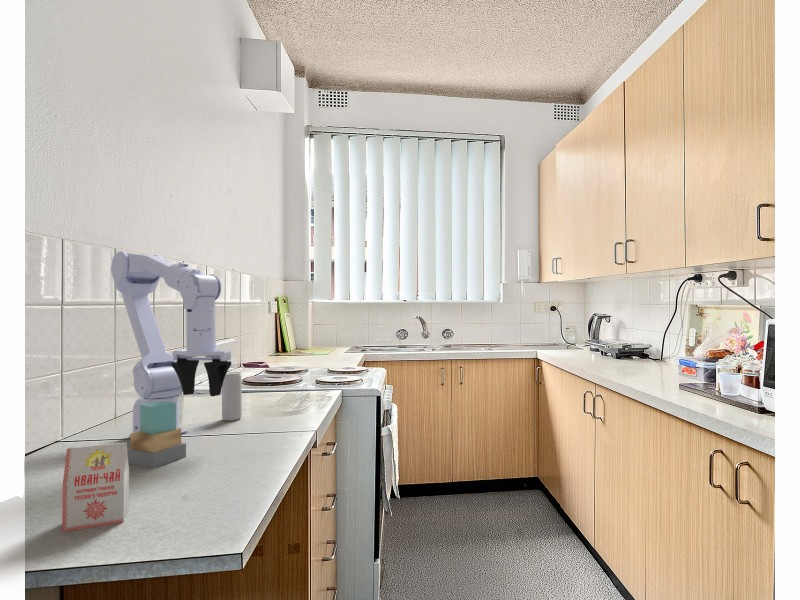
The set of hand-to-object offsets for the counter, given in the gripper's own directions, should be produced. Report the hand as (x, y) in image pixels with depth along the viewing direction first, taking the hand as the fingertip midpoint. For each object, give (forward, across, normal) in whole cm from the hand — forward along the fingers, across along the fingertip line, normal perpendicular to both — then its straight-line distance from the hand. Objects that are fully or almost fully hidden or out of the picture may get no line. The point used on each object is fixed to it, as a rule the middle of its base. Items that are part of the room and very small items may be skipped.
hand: (201, 394), depth 97 cm
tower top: (+8, 0, +11) cm, 14 cm away
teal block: (+5, 0, +11) cm, 12 cm away
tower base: (+11, 0, +11) cm, 15 cm away
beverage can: (+10, +11, -20) cm, 25 cm away
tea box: (+11, -16, +32) cm, 38 cm away
